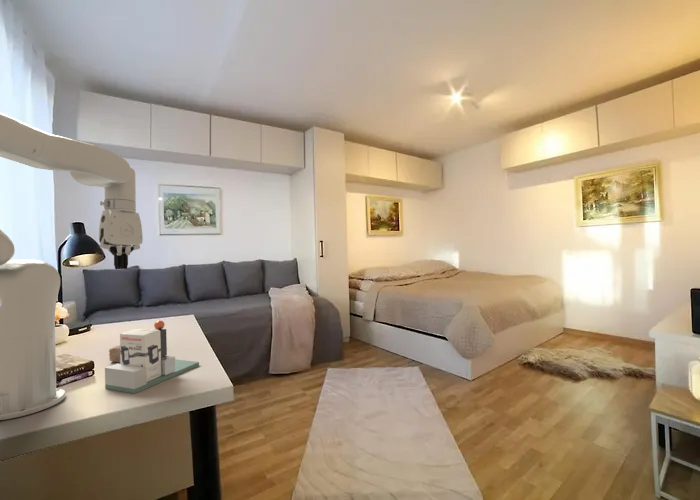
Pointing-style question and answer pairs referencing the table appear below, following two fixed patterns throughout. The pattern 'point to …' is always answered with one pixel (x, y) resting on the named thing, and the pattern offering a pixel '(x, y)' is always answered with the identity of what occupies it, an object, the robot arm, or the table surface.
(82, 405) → the table surface
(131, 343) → the ink box
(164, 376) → the vise
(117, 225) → the robot arm
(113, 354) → the brick
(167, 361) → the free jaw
